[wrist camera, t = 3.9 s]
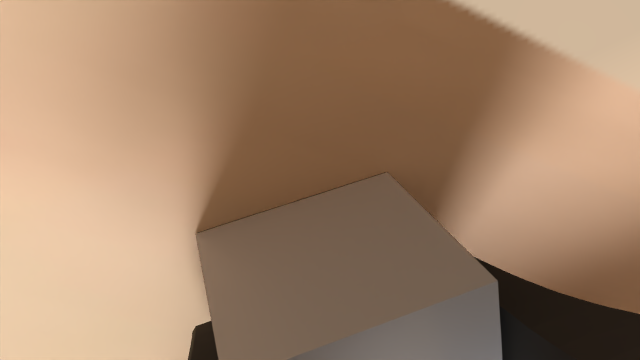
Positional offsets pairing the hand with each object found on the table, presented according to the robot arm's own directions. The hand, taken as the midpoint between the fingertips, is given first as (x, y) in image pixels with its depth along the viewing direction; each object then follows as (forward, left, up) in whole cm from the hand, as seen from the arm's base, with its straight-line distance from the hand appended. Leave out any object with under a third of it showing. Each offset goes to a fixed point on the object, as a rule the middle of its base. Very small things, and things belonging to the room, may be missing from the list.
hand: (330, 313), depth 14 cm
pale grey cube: (0, 0, -1) cm, 1 cm away
